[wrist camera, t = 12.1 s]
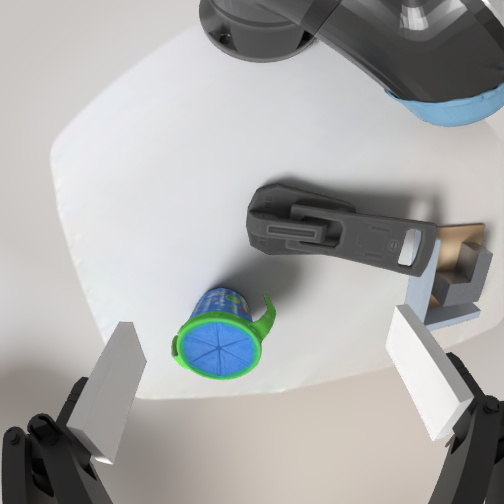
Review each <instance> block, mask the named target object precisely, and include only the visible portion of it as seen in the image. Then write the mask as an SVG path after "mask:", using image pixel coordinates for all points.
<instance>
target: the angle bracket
mask: <svg viewBox="0 0 504 504" xmlns="http://www.w3.org/2000/svg"><path fill="white" fill-rule="evenodd" d="M492 256H493V253H491V252H490V251H488V250H487V249H485V248H484V247H482V246H481V245H479V244H478V243H476V242H461V247H460V251H459V255H458V259H457V263H456V266H455V269H448V270H436V272H435V277H434V282H433V286H432V291H431V294H432V295H433V296H434V297H435V298H436V299H437V301H438V302H439V303H440V304H441V305H442V306H443V307H444V306H451V305H458V304H464V303H471V302H477V301H478V300H479V297H480V295H481V292H482V289H483V286H484V283H485V280H486V276H487V273H488V270H489V266H490V263H491V259H492Z"/></svg>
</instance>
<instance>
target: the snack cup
mask: <svg viewBox="0 0 504 504" xmlns="http://www.w3.org/2000/svg"><path fill="white" fill-rule="evenodd" d="M263 296H264V298H265V301H266V304H267V311H266V313H265V314H264V315H263V316H262V317H261V318H260V319H259V320H257V321H255V322H253V321H252V318H251V314H250V311H249V308H248V305H247V303H246V301H245V299H244V298H243V297H242V296H241V295H239V294H238V293H237V292H235V291H233V290H230V289H225V288H217V289H214V290H211V291H209V292H207V293H206V294H205V295H203V296H202V297H201V299H200V300H199V302H198V303H197V305H196V307H195V309H194V311H193V312H192V315H191V316H190V318H189V320H188V321H187V322H186V323H185V324H184V325H183V326H182V327H181V328H180V330H179V332H178V335H176V336H175V337H174V338H173V341H172V357H173V358H174V359H175V360H176V361H177V362H178V363H179V364H180V365H181V366H182V367H183V368H185V369H190V370H191V371H193V372H194V373H196V374H198V375H200V376H203V377H206V378H210V379H216V380H229V379H234V378H238V377H241V376H243V375H245V374H247V373H248V372H250V371H251V370H252V369H253V368H254V367H255V366H256V365H257V364H258V362H259V360H260V357H261V350H262V347H261V343H262V341H263V339H264V338H265V337H266V335H267V334H268V333H269V331H270V329H271V328H272V326H273V323H274V320H275V316H276V310H275V308H274V306H273V304H272V303H271V301H270V300H269V298H268V297H267V296H266V294H263Z"/></svg>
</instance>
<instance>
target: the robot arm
mask: <svg viewBox="0 0 504 504" xmlns="http://www.w3.org/2000/svg"><path fill="white" fill-rule="evenodd" d="M199 17H200V21H201V24H202V27H203V29H204V32H205V34H206V35H207V37H208V38H209V40H210V41H211V42H212V43H213V44H214V45H215V46H216V47H217V48H218V49H220V50H221V51H223V52H224V53H226V54H228V55H230V56H232V57H235V58H237V59H241V60H244V61H249V62H258V63H267V62H276V61H281V60H285V59H288V58H290V57H293V56H295V55H297V54H298V53H300V52H301V51H303V50H304V49H305V48H306V47H308V46H309V44H310V43H311V42H312V41H313V40H314V38H315V37H316V38H318V39H319V40H321V41H322V42H324V43H325V44H327V45H328V46H330V47H331V48H333V49H334V50H336V51H337V52H338V53H340V54H341V55H343V56H344V57H345V58H347V59H348V60H349V61H351V62H352V63H353V64H355V65H356V66H357V67H358V68H360V69H361V70H362V71H364V72H365V73H366V74H367V75H369V76H370V77H371V78H372V79H373V80H375V81H376V82H377V83H378V84H379V85H381V86H382V87H383V88H384V90H385V92H386V93H387V94H388V95H389V96H390V97H392V98H393V99H395V100H397V101H399V102H401V103H402V104H403V105H404V106H405V107H407V108H408V109H409V110H410V111H411V112H412V113H413V114H414V115H415V116H417V117H418V118H420V119H421V120H423V121H425V122H429V123H431V124H433V125H437V126H443V127H456V126H463V125H467V124H471V123H474V122H477V121H480V120H482V119H485V118H487V117H488V116H490V115H492V114H494V113H495V112H496V111H498V110H499V109H500V108H501V107H503V105H504V0H201V1H200V5H199ZM385 347H386V349H387V351H388V353H389V355H390V356H391V358H392V360H393V362H394V364H395V366H396V368H397V369H398V371H399V373H400V375H401V377H402V379H403V381H404V383H405V385H406V387H407V389H408V391H409V393H410V395H411V397H412V399H413V401H414V403H415V405H416V407H417V409H418V411H419V413H420V415H421V417H422V420H423V421H424V424H425V426H426V428H427V430H428V432H429V435H430V437H431V439H432V441H435V440H438V439H440V438H443V437H445V436H447V435H448V433H449V432H450V431H451V429H453V431H454V433H455V434H454V435H453V436H452V437H451V439H450V440H449V441H448V442H447V444H446V446H445V447H447V446H448V445H449V444H450V447H449V450H448V453H447V456H446V459H445V462H444V465H443V468H442V471H441V473H440V476H439V479H438V482H437V484H436V486H435V489H434V491H433V494H432V496H431V499H430V501H429V503H428V504H483V503H484V500H485V504H504V401H499V400H498V399H497V398H495V397H493V396H489V395H486V396H485V394H484V393H483V392H482V390H481V389H480V387H479V386H478V384H477V383H476V381H475V380H474V378H473V377H472V375H471V374H470V373H469V371H468V370H467V368H466V367H465V366H464V364H463V363H462V361H461V360H460V358H458V357H457V356H456V355H454V354H453V353H452V352H450V353H446V354H445V353H444V351H443V350H442V348H441V347H440V346H439V344H438V343H437V341H436V340H435V339H434V337H433V336H432V335H431V333H430V332H429V331H428V329H427V328H426V327H425V325H424V324H423V323H422V321H421V320H420V319H419V317H418V316H417V315H416V314H415V312H414V311H413V310H412V308H411V307H410V306H409V305H408V304H404V305H397V306H395V310H394V315H393V319H392V323H391V327H390V331H389V334H388V338H387V342H386V345H385ZM146 362H147V361H146V359H145V356H144V353H143V351H142V348H141V345H140V342H139V339H138V337H137V334H136V331H135V328H134V325H133V322H119V323H118V325H117V327H116V329H115V330H114V332H113V334H112V336H111V338H110V339H109V341H108V343H107V345H106V347H105V349H104V350H103V352H102V354H101V356H100V358H99V360H98V362H97V364H96V365H95V367H94V370H93V371H92V373H91V375H90V377H89V378H87V377H82V378H81V379H80V380H78V382H76V383H75V384H74V386H73V388H72V390H71V392H70V393H71V394H69V396H68V398H67V401H66V402H65V404H64V406H63V408H62V410H61V412H60V414H59V416H58V418H57V420H56V422H55V421H54V420H53V419H52V418H51V417H50V416H49V415H48V414H43V413H42V414H37V415H35V416H34V417H32V419H31V420H30V421H29V423H28V426H27V431H28V432H29V433H30V434H26V433H25V432H24V431H23V430H22V429H21V428H20V427H11V428H9V429H8V430H7V431H6V433H5V434H4V437H3V448H2V501H3V504H113V503H112V501H111V499H110V498H109V496H108V494H107V492H106V490H105V488H104V486H103V485H102V482H101V480H100V478H99V477H98V475H97V472H96V470H95V468H94V466H93V464H92V463H91V461H90V458H91V455H93V456H94V458H95V459H97V461H101V462H105V463H109V464H113V463H114V459H115V456H116V452H117V449H118V446H119V442H120V439H121V436H122V433H123V429H124V426H125V423H126V420H127V417H128V414H129V411H130V408H131V405H132V402H133V399H134V396H135V393H136V390H137V388H138V385H139V382H140V379H141V376H142V373H143V371H144V368H145V365H146ZM485 497H486V498H485Z"/></svg>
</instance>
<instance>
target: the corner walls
mask: <svg viewBox="0 0 504 504" xmlns="http://www.w3.org/2000/svg"><path fill="white" fill-rule="evenodd" d="M420 240H421V230H417V229H416V231H415V240H414V248H413V256H412V262H413V260H414V259H415V256H416V253H417V250H418V246H419V243H420ZM440 242H441V240H440V239H439V238H437V237H436V241H435V246H434V249H433V253H432V256H431V259H430V261H429V263H428V266H427V268H426V269H425V271H424V272H423V274H422V276H421V277H415V276H409V282H408V287H407V293H406V298H405V303H404V304H408V305H409V306H410V307H411V308H412V310H413V311H414V312H415V314H416V315H417V316H418V317H419V319H420V320H421V321H422V323H423V324H424V325H425V327H426V328H427V329H428V331H433V330H436V329H440V328H444V327H447V326H451V325H455V324H458V323H461V322H465V321H468V320H471V319H475V318H478V317H479V314H480V311H481V310H480V309H479V308H478V307H477V306H476V305H474V304H473V303H472V302H471V303H464V304H458V305H451V306H444V307H443V306H442V305H441V306H437V307H432V308H428V304H429V300H430V295H431V291H432V286H433V282H434V277H435V272H436V266H437V261H438V255H439V249H440ZM411 264H412V263H411Z"/></svg>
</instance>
